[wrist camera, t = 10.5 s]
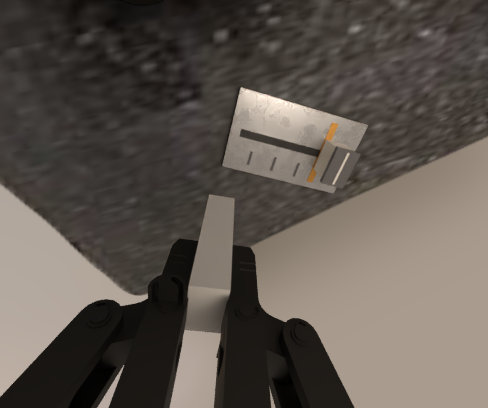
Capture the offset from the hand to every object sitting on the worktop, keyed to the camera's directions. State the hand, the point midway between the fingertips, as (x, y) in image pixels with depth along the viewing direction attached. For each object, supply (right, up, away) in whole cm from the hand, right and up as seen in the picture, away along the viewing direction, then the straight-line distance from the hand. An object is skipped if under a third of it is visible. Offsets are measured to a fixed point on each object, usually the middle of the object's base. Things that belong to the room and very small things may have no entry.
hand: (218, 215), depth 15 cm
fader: (+15, +8, +23) cm, 29 cm away
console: (+9, +10, +24) cm, 28 cm away
